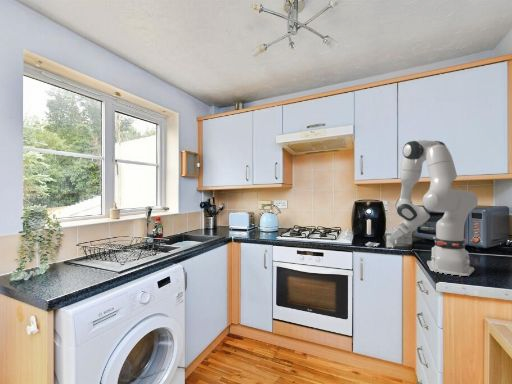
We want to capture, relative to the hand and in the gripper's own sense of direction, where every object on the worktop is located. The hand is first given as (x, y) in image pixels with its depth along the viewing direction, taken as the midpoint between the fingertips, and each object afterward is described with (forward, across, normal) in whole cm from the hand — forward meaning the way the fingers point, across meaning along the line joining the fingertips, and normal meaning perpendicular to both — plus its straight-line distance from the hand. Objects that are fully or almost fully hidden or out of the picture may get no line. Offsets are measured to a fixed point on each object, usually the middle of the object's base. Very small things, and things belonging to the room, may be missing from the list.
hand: (389, 240), depth 166 cm
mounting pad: (+11, 0, -4) cm, 12 cm away
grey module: (+3, 0, +4) cm, 5 cm away
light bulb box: (0, -17, +7) cm, 18 cm away
